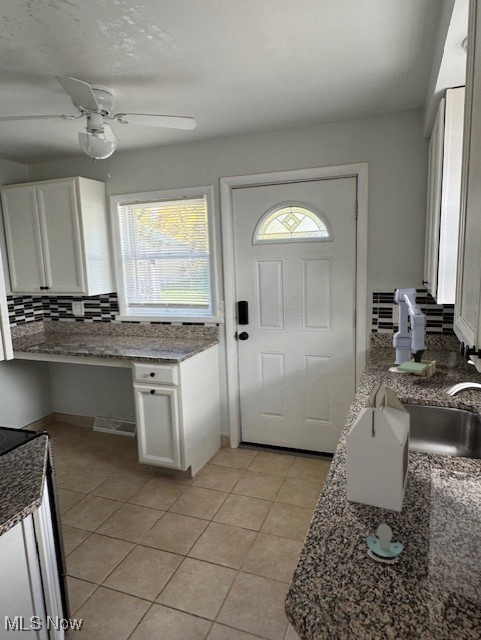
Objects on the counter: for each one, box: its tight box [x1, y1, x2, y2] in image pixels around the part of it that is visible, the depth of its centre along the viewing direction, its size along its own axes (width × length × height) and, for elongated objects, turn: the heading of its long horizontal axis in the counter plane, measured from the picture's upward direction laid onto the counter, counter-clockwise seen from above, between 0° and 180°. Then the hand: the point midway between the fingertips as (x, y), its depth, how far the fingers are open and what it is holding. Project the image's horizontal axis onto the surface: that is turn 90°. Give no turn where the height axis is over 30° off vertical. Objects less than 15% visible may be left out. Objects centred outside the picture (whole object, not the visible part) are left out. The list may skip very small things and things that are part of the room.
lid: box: [396, 361, 429, 374], centre depth 203 cm, size 14×11×2 cm
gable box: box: [345, 378, 411, 512], centre depth 110 cm, size 22×13×28 cm, turn 153°
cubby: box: [406, 358, 437, 379], centre depth 215 cm, size 14×11×6 cm
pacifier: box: [365, 523, 404, 562], centre depth 85 cm, size 7×6×6 cm
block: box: [413, 369, 427, 377], centre depth 214 cm, size 5×5×5 cm
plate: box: [388, 366, 407, 374], centre depth 222 cm, size 10×10×1 cm
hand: (417, 364), depth 209 cm, fingers closed
